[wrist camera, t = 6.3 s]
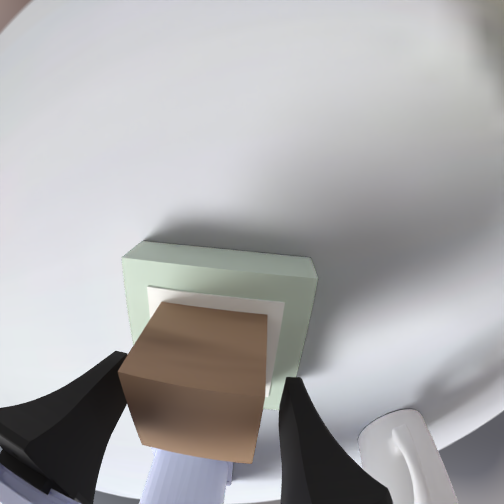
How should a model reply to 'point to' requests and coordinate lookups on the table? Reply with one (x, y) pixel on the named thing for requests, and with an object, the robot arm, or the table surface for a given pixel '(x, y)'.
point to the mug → (405, 459)
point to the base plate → (227, 295)
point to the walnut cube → (198, 381)
